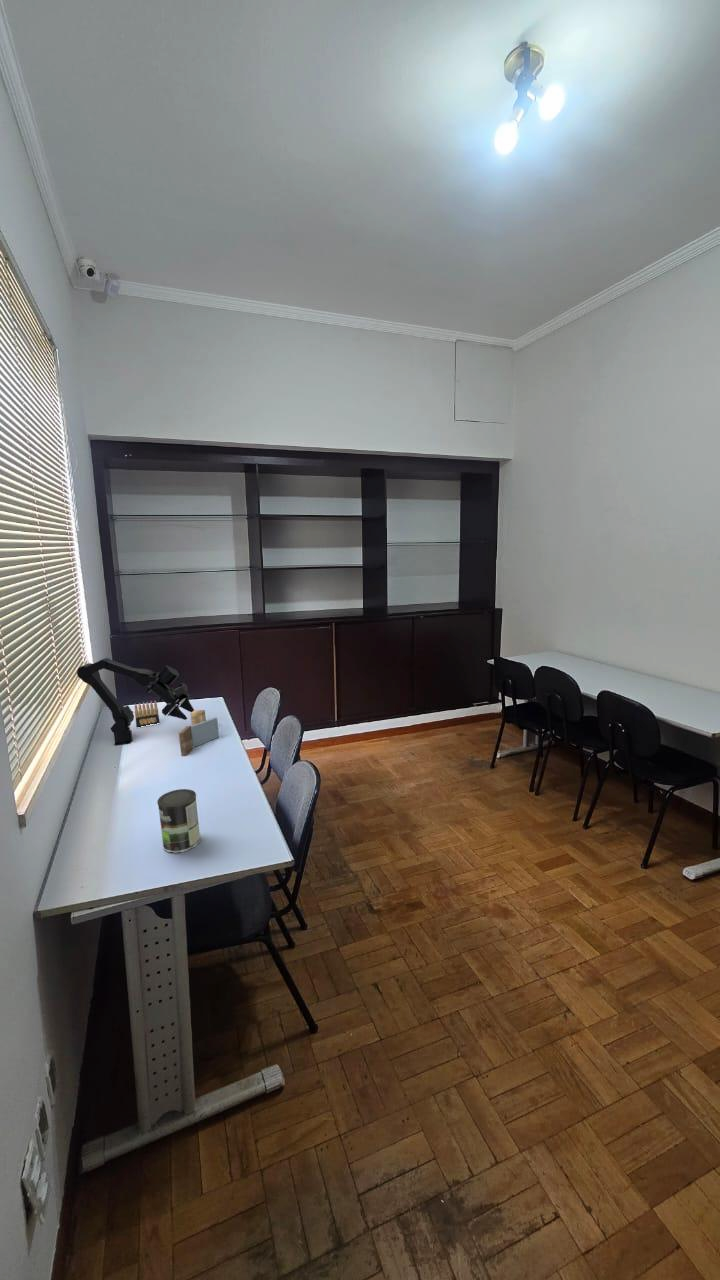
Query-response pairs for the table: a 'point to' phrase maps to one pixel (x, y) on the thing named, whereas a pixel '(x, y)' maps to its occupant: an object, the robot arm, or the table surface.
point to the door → (204, 731)
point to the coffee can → (179, 820)
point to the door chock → (198, 716)
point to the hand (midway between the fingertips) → (190, 715)
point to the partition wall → (186, 740)
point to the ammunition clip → (146, 714)
